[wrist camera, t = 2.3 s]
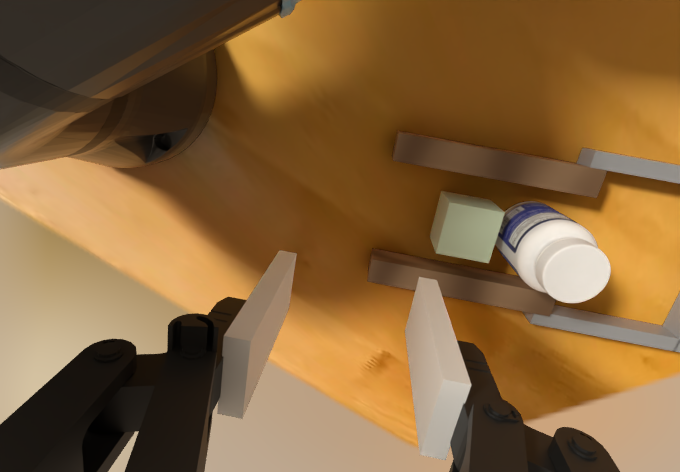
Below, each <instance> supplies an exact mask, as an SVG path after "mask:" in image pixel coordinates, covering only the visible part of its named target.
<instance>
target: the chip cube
mask: <svg viewBox="0 0 680 472" xmlns="http://www.w3.org/2000/svg"><path fill="white" fill-rule="evenodd" d="M504 214H505V212H504V211H503V210H501V209H500V208H499V207H498V206H497V205H496V204H495V203H494V202H492V201H491V200H489V199H484V198H479V197H473V196H468V195H462V194H457V193H451V192H446V191H441V194H440V198H439V202H438V206H437V209H436V213H435V217H434V221H433V225H432V229H431V233H430V239H431V242H432V244H433V247H434V250H435V252H436V253H437V254H442V255H447V256H453V257H458V258H463V259H469V260H474V261H479V262H484V263H489V261H490V258H491V255H492V252H493V249H494V245H495V242H496V239H497V236H498V233H499V230H500V227H501V224H502V221H503V217H504Z"/></svg>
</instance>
